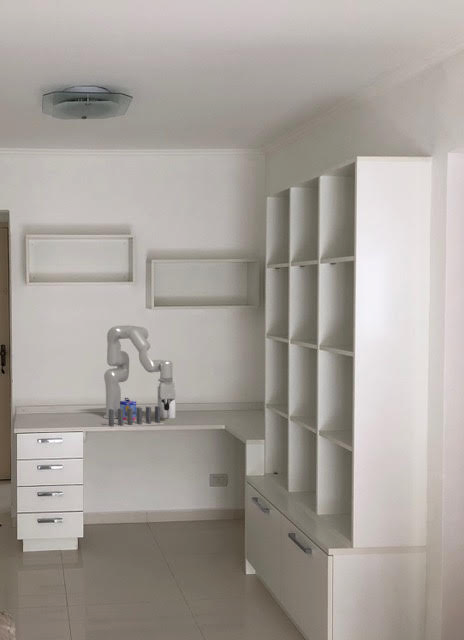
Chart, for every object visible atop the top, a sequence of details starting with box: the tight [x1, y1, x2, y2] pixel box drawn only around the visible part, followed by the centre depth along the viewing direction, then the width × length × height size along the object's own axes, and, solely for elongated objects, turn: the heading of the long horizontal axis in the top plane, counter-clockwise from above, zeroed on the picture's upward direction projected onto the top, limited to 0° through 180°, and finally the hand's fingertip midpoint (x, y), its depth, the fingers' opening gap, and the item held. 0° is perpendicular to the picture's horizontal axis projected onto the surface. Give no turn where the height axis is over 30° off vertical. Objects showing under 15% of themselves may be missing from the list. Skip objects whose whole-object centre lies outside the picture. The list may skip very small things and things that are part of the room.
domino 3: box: [126, 408, 134, 425], centre depth 577 cm, size 2×5×10 cm, turn 26°
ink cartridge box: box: [120, 397, 137, 422], centre depth 597 cm, size 10×6×14 cm, turn 51°
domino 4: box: [136, 406, 143, 426], centre depth 579 cm, size 2×5×10 cm, turn 26°
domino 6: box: [154, 405, 161, 423], centre depth 584 cm, size 2×5×10 cm, turn 26°
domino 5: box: [145, 406, 152, 424], centre depth 582 cm, size 2×5×10 cm, turn 26°
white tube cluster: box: [157, 386, 176, 419], centre depth 608 cm, size 11×7×20 cm, turn 96°
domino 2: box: [117, 408, 124, 426], centre depth 574 cm, size 2×5×10 cm, turn 26°
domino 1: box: [108, 409, 115, 428], centre depth 571 cm, size 2×5×10 cm, turn 26°
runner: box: [104, 420, 165, 428], centre depth 578 cm, size 12×35×1 cm, turn 116°
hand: (166, 410), depth 587 cm, fingers closed
